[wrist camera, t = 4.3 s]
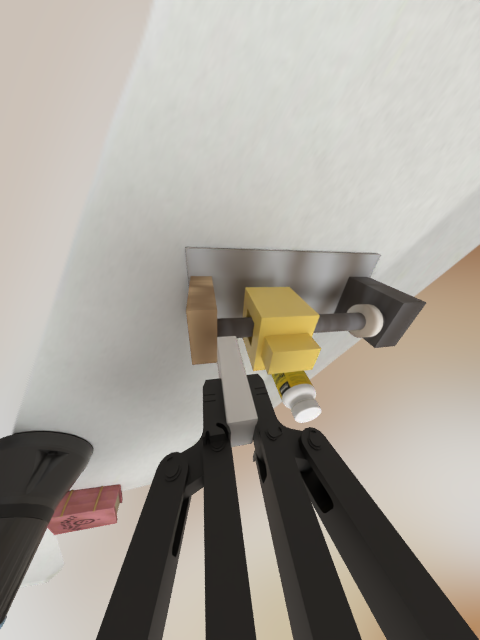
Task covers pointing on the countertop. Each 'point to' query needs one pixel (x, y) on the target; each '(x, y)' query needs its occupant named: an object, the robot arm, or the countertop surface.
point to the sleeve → (280, 330)
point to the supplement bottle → (297, 395)
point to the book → (86, 509)
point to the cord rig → (305, 280)
